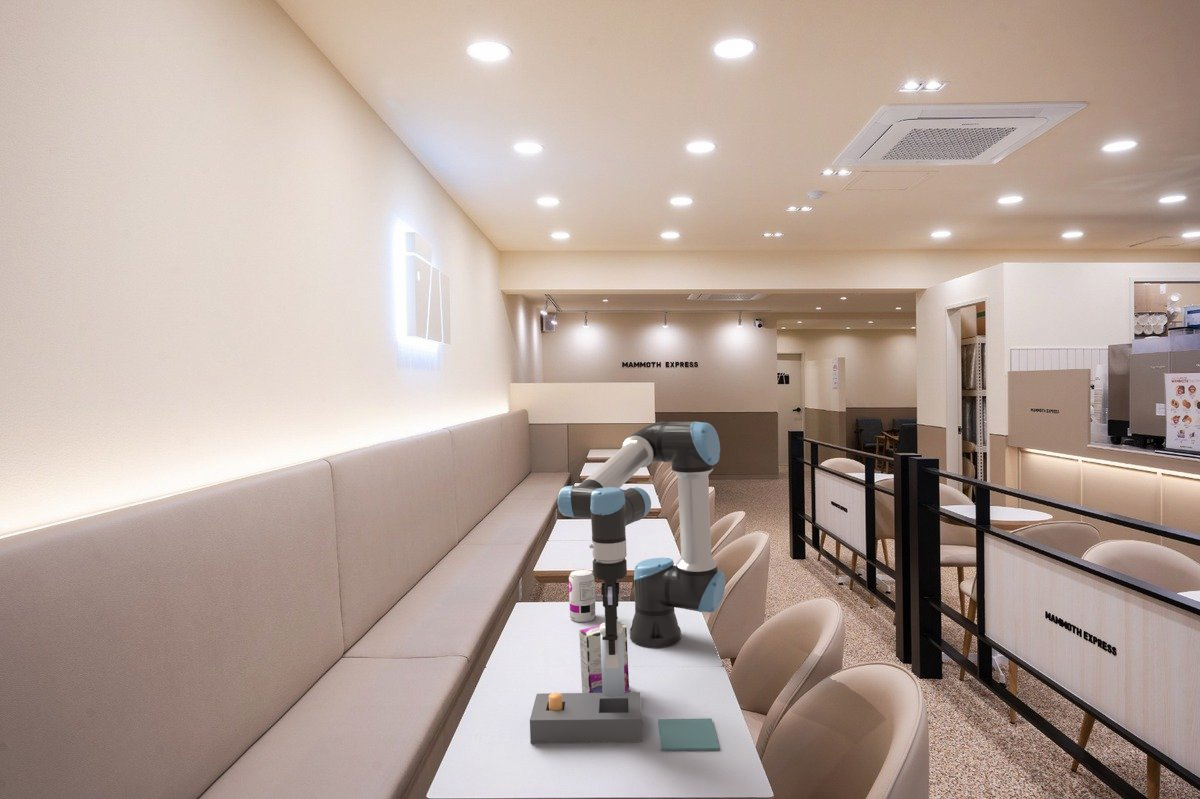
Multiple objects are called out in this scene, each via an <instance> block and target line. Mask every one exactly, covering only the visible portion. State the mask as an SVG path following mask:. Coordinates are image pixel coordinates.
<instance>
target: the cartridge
mask: <svg viewBox="0 0 1200 799" xmlns="http://www.w3.org/2000/svg"><path fill="white" fill-rule="evenodd" d="M622 624H623V623H622V622H621V621H619V622H617V636H618V659H619V668H606V642H605V640H602V637H605V636H606V633H605V621H604V622H602V623H601V624H600V636H601V665H602V692H603V694H604V695H605V696H608V697H618V696H621V695H623V694H624V693H625V681H624V651H623V625H624V624H623V625H622Z"/></svg>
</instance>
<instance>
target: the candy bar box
mask: <svg viewBox="0 0 1200 799" xmlns="http://www.w3.org/2000/svg"><path fill="white" fill-rule="evenodd" d="M617 622H620V621H618V620H617ZM600 625H601V624H600ZM600 625H595V626H591V627H587V628H583V629H579V631H578V633H579V636H578V637H579V650H580V651H579V652H580V653H579V654H580V656H579V658H580V673H581V674H580V676H581V679H580V680H581V693H603V692H602V665H601V636H600ZM622 625H623V651H624V681H625V692H629V691H630V678H629V677H630V675H629V659H628V658H629V657H628V656H629V655H628V633H627V626H626V625H625V624H623V623H622Z"/></svg>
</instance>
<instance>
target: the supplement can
mask: <svg viewBox="0 0 1200 799" xmlns="http://www.w3.org/2000/svg"><path fill="white" fill-rule="evenodd" d="M568 590H569V591H568V594H569V596H568V598H569V617H570V619H572V621H573V622H575V623H587V622H591V621H592V620H594V618H595V617H596V586H595V577H594V576H593V570H590V569H586V568H585V569H581V568H580V569H575V570H572V571H570V574H569V576H568Z"/></svg>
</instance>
